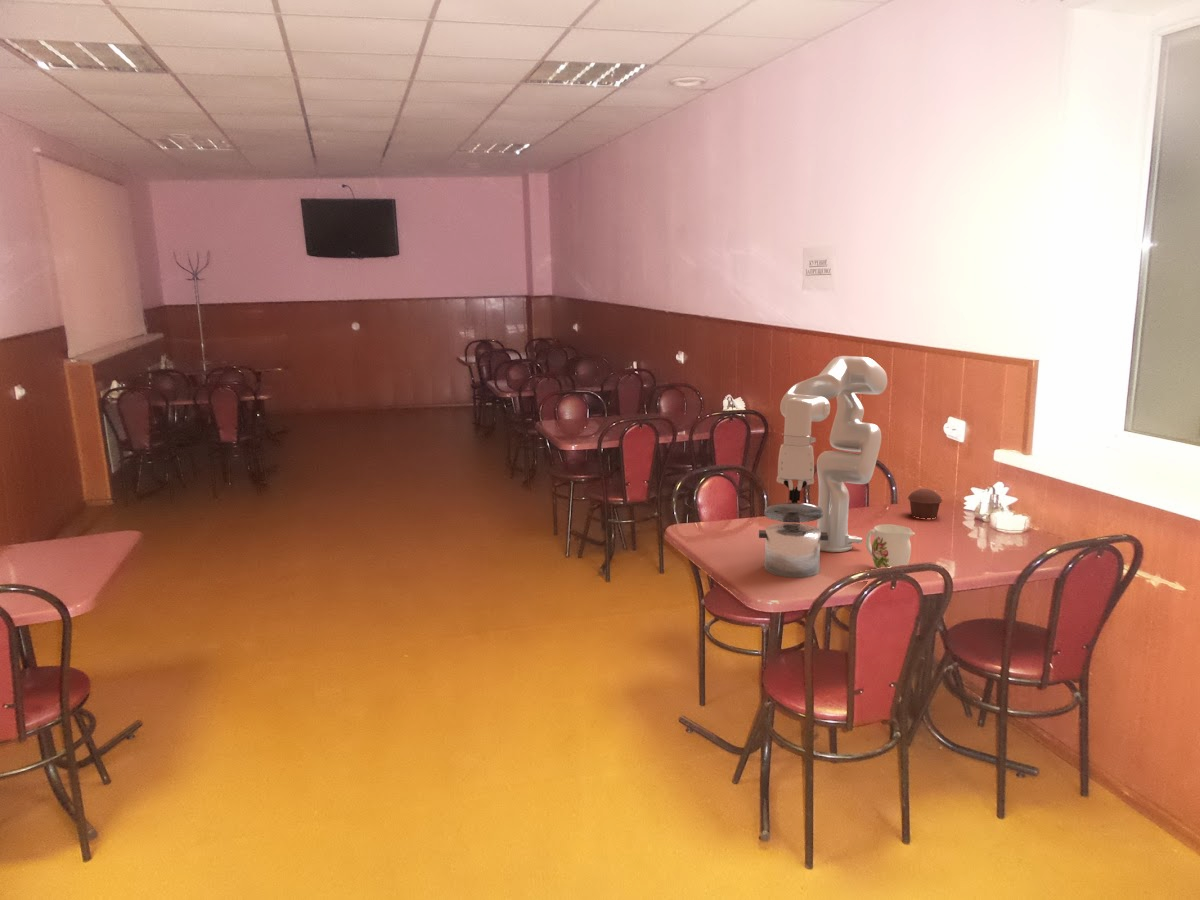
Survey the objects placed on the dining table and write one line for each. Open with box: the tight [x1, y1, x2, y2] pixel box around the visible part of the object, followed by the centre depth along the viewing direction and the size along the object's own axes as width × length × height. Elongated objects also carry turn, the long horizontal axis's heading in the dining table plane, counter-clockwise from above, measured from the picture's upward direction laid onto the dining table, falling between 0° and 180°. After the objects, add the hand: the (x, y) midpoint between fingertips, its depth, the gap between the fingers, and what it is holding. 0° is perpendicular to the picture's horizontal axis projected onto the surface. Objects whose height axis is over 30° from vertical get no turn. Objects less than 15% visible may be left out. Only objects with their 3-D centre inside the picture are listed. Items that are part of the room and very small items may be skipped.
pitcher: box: [865, 523, 916, 569], centre depth 255 cm, size 11×18×14 cm, turn 27°
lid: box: [764, 502, 823, 524], centre depth 257 cm, size 18×17×3 cm
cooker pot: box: [758, 522, 828, 579], centre depth 258 cm, size 20×17×12 cm
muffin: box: [907, 488, 943, 519], centre depth 314 cm, size 12×11×10 cm
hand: (794, 502), depth 251 cm, fingers closed
